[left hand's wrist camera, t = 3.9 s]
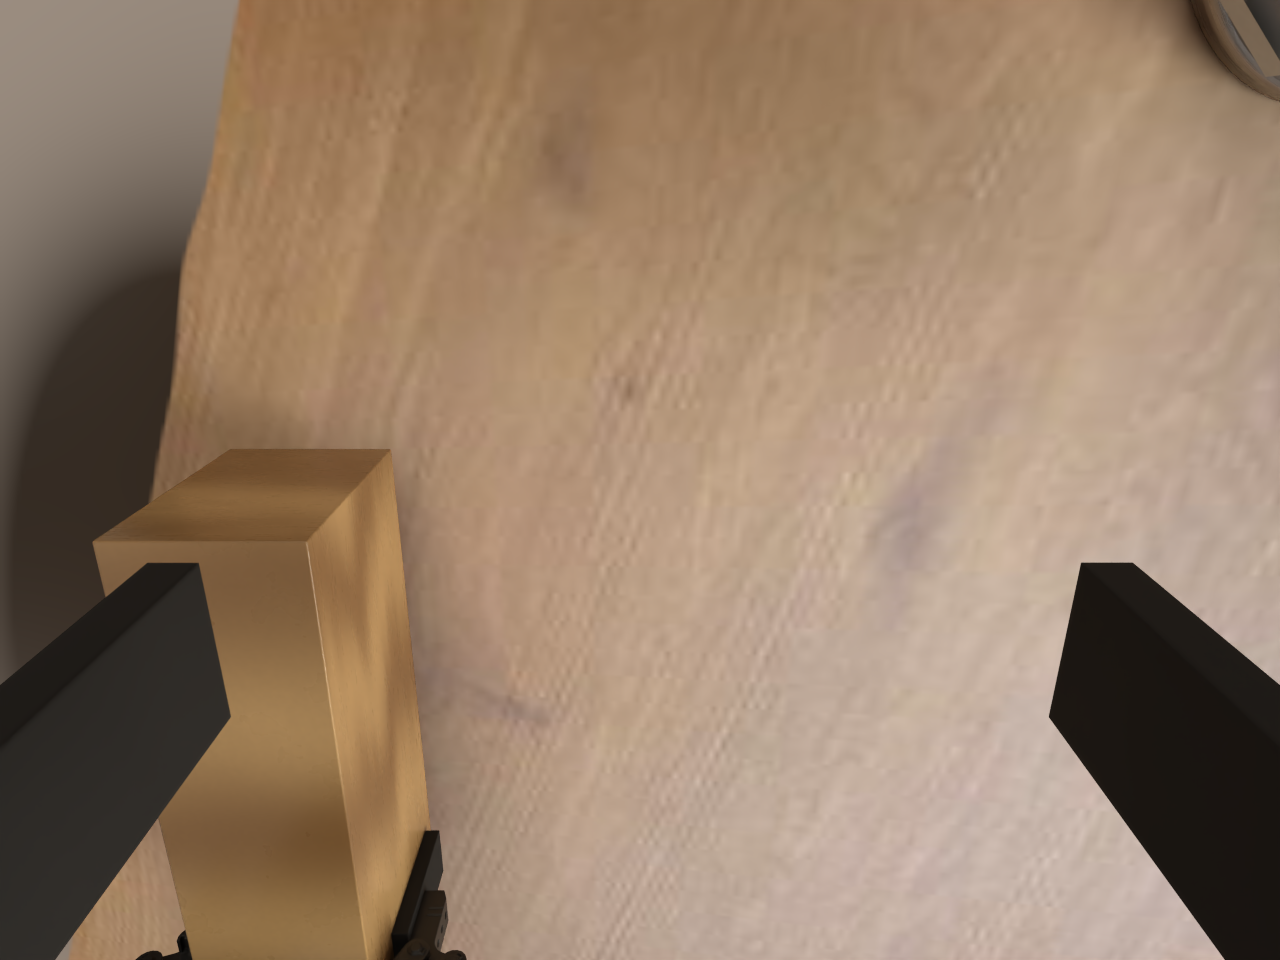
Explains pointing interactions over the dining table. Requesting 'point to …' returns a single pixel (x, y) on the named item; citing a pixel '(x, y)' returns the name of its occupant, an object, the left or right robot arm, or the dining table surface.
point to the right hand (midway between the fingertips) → (358, 851)
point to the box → (293, 704)
